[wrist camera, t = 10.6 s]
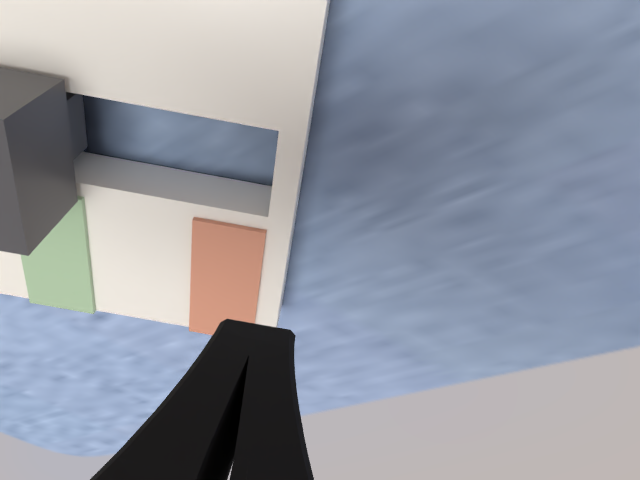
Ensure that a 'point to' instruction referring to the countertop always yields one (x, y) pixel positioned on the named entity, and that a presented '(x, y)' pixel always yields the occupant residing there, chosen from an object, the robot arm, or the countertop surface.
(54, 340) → the countertop surface
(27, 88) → the switch handle
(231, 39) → the switch board
